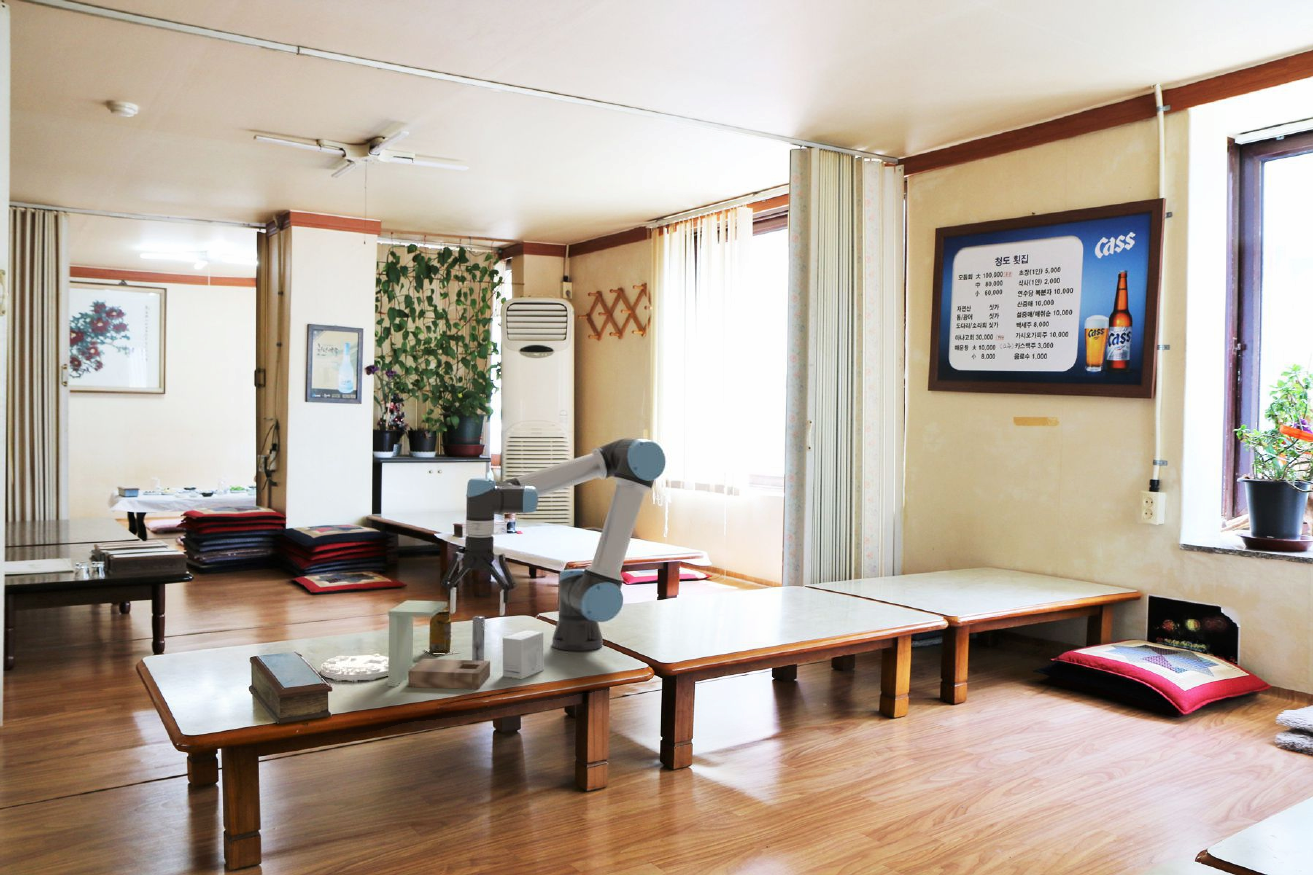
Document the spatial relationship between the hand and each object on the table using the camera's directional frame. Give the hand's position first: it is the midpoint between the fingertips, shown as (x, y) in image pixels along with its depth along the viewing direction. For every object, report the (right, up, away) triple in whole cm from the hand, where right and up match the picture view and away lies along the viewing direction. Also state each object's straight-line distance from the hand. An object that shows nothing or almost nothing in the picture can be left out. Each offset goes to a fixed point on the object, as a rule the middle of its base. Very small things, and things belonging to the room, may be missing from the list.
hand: (477, 613), depth 255 cm
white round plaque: (-30, -15, -5) cm, 34 cm away
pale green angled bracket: (-13, -15, -12) cm, 23 cm away
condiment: (-14, -15, +17) cm, 27 cm away
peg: (0, -15, +1) cm, 15 cm away
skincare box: (+13, -16, -3) cm, 20 cm away
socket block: (-5, -15, -12) cm, 20 cm away
